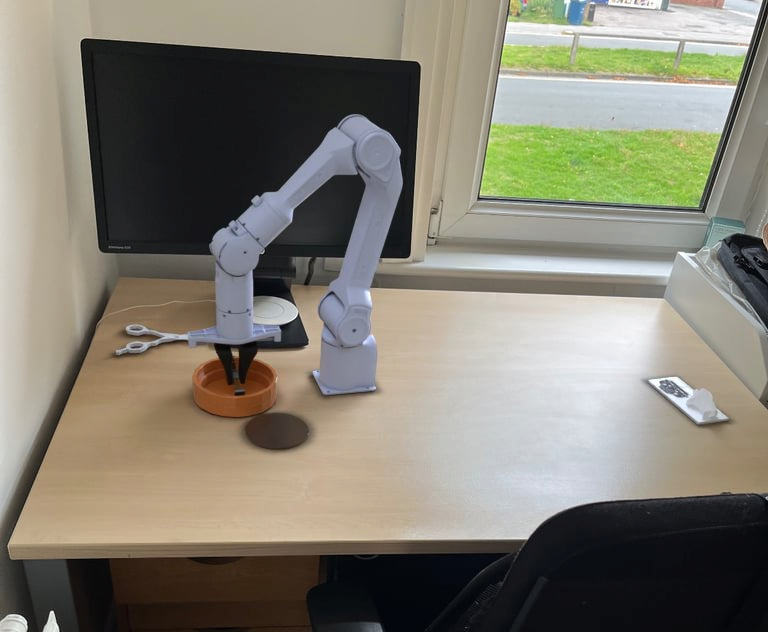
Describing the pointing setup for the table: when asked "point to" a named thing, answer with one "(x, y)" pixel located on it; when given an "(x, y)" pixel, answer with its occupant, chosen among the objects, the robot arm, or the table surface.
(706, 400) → the white piece
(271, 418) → the coaster
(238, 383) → the wooden post with brackets
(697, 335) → the table surface
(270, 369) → the bowl
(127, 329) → the scissors
